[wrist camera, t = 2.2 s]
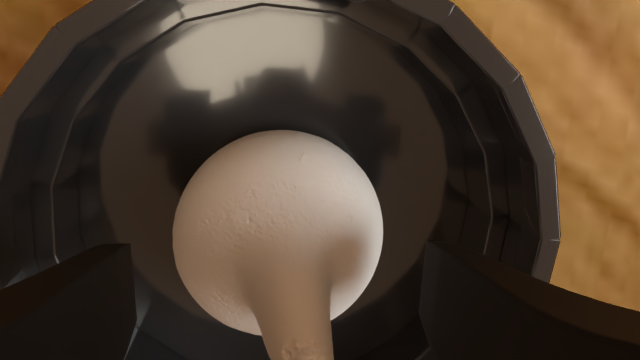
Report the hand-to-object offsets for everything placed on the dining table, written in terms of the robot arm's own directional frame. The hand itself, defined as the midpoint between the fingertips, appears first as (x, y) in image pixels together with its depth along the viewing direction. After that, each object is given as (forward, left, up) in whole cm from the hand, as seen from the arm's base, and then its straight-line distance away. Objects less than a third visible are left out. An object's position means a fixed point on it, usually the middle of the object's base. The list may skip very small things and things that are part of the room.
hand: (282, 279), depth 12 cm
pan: (0, 0, -5) cm, 5 cm away
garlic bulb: (0, 0, -5) cm, 5 cm away
